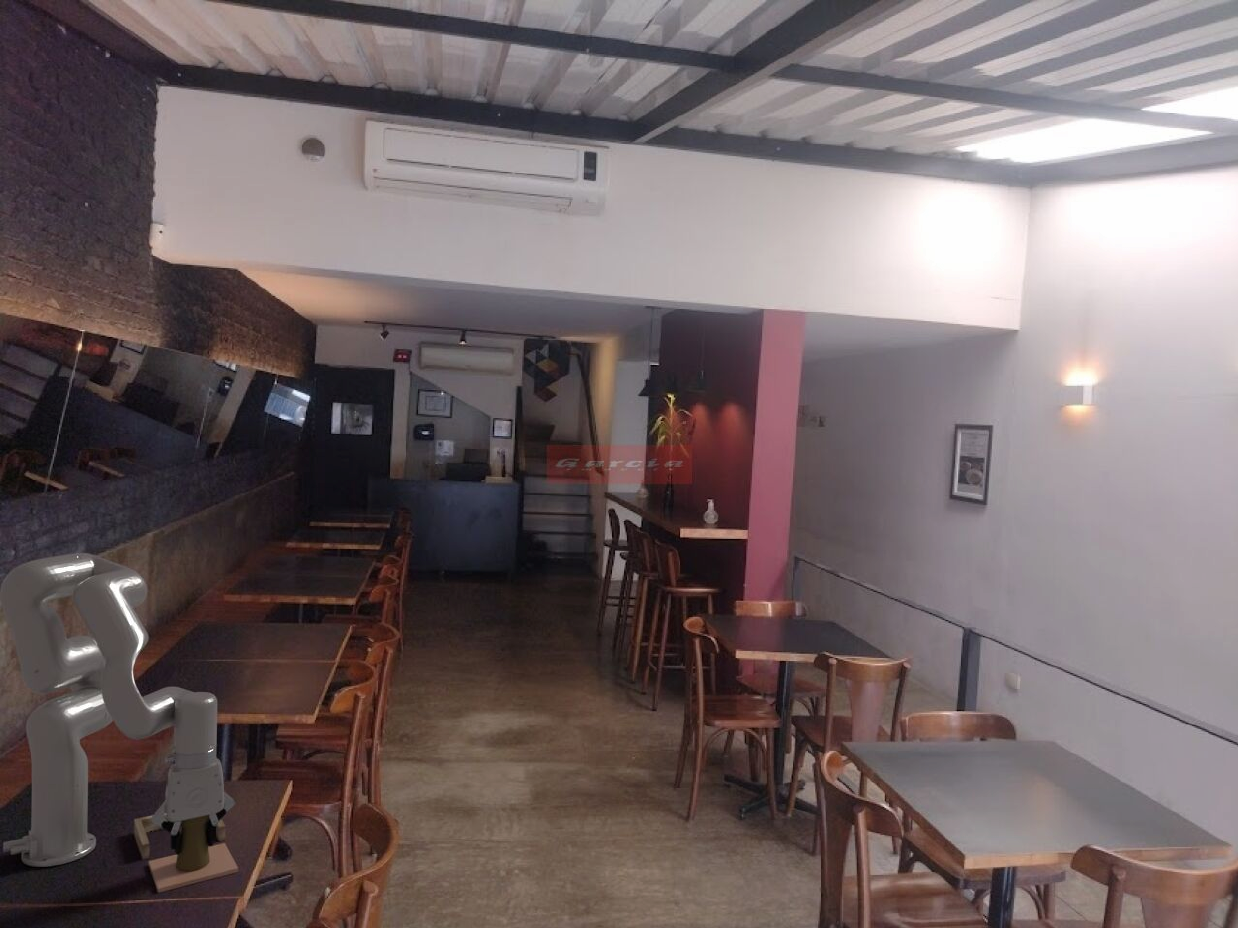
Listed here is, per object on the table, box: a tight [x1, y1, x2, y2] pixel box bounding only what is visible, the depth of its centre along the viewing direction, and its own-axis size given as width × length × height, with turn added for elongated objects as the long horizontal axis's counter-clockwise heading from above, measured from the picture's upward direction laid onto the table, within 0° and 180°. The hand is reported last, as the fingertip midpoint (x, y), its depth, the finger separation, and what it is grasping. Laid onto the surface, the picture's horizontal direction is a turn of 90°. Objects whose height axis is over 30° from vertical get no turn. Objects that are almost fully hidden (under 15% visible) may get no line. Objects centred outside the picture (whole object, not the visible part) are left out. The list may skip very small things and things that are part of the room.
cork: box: [176, 815, 210, 871], centre depth 167 cm, size 6×6×11 cm
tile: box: [148, 842, 239, 894], centre depth 167 cm, size 14×12×1 cm
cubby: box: [133, 813, 226, 861], centre depth 180 cm, size 15×13×3 cm
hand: (193, 846), depth 167 cm, fingers open, 5 cm apart
